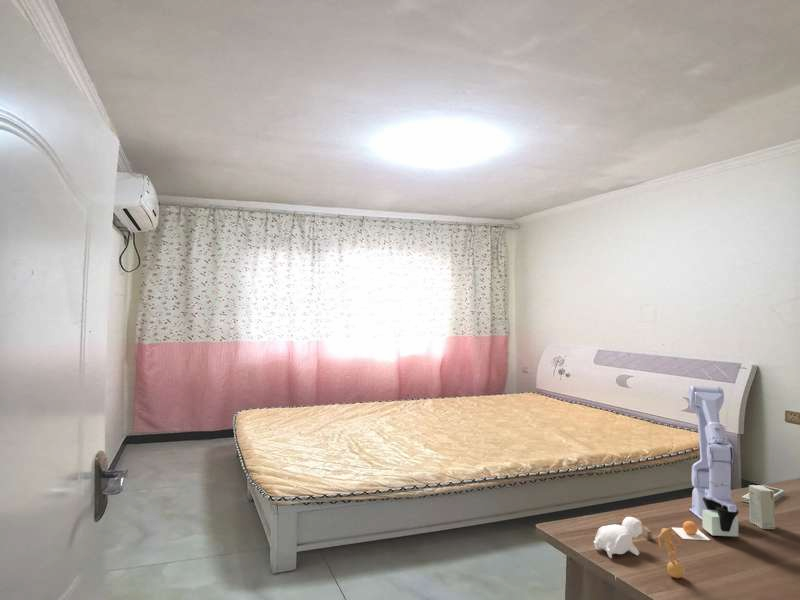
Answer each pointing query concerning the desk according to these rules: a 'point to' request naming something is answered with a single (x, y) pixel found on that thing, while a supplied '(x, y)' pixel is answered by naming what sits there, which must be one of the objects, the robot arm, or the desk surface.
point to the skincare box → (761, 506)
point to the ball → (690, 527)
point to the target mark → (684, 535)
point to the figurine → (671, 553)
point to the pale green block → (717, 524)
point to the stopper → (645, 530)
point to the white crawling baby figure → (618, 537)
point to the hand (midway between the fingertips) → (719, 526)
